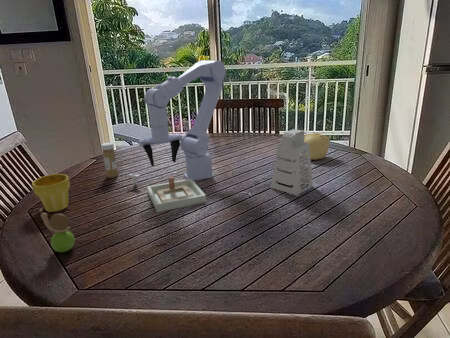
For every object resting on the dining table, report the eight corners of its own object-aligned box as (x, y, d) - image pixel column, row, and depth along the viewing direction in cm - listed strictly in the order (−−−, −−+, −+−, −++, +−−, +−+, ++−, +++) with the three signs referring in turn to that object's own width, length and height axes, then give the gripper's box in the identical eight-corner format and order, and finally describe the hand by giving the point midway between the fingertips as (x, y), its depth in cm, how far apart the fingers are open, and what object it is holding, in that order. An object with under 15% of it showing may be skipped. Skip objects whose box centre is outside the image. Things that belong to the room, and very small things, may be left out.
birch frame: (195, 198, 110) (194, 184, 108) (163, 205, 106) (161, 190, 104) (186, 187, 119) (185, 174, 117) (156, 192, 115) (155, 179, 114)
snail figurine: (54, 245, 88) (44, 204, 83) (79, 243, 88) (70, 202, 84) (45, 257, 82) (34, 214, 78) (72, 255, 83) (62, 212, 79)
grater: (312, 186, 117) (316, 130, 110) (296, 196, 110) (299, 137, 103) (287, 179, 124) (289, 126, 117) (270, 188, 117) (271, 132, 110)
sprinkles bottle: (119, 176, 133) (114, 143, 128) (108, 179, 130) (102, 146, 126) (116, 173, 136) (111, 141, 132) (105, 175, 134) (99, 143, 129)
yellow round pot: (331, 155, 148) (333, 131, 144) (322, 163, 138) (324, 138, 135) (306, 152, 154) (307, 129, 150) (296, 159, 144) (297, 135, 141)
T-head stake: (129, 186, 123) (127, 175, 121) (132, 184, 124) (130, 173, 123) (139, 188, 121) (137, 176, 120) (142, 186, 123) (140, 174, 121)
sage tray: (191, 184, 122) (191, 178, 121) (206, 202, 108) (205, 195, 107) (147, 193, 117) (146, 186, 116) (156, 212, 103) (156, 205, 102)
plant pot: (39, 218, 102) (31, 188, 99) (39, 205, 111) (32, 177, 107) (75, 209, 107) (69, 181, 103) (72, 197, 115) (67, 171, 112)
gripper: (139, 130, 106) (144, 170, 111) (183, 124, 112) (186, 163, 116) (135, 126, 112) (140, 164, 117) (177, 120, 118) (180, 157, 122)
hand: (163, 163), depth 117 cm, fingers open, 7 cm apart
